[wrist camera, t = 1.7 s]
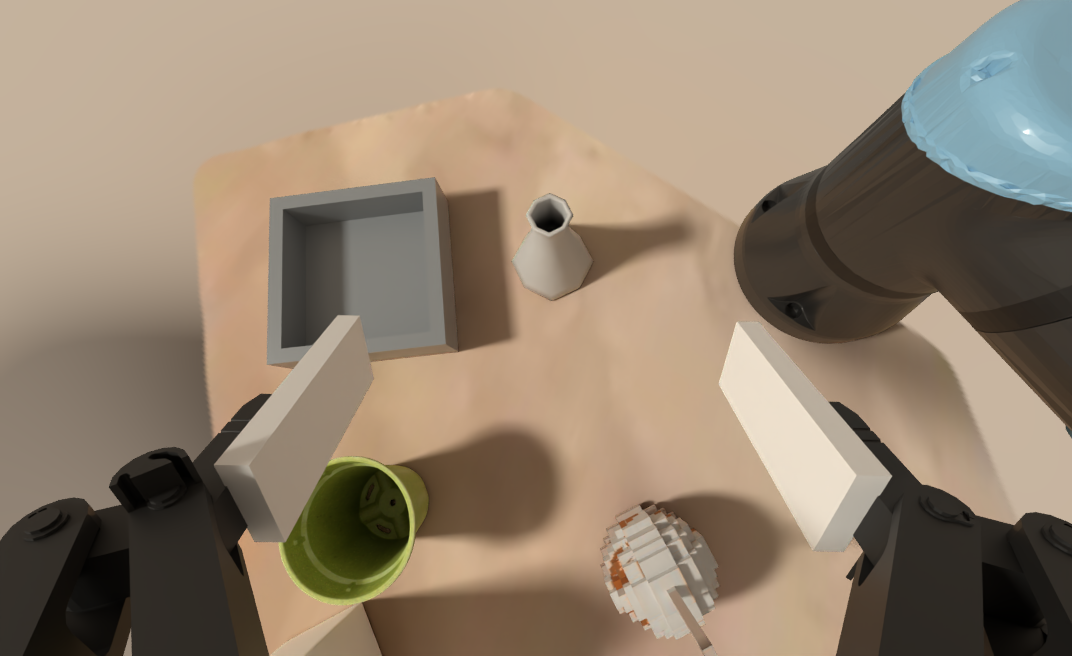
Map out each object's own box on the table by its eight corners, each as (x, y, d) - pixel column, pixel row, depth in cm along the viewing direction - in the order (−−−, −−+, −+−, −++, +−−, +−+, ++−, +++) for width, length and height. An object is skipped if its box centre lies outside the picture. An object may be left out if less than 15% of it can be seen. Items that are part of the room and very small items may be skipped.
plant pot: (426, 577, 36) (385, 628, 28) (325, 539, 37) (255, 577, 29) (463, 466, 38) (434, 481, 29) (365, 432, 39) (309, 438, 30)
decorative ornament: (584, 529, 36) (600, 609, 21) (666, 487, 36) (738, 538, 22) (629, 623, 35) (679, 779, 20) (714, 579, 35) (826, 700, 20)
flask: (553, 212, 42) (550, 150, 32) (607, 262, 40) (621, 214, 31) (498, 262, 41) (478, 214, 31) (551, 315, 40) (548, 282, 30)
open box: (448, 201, 43) (434, 177, 38) (458, 351, 40) (445, 344, 35) (299, 220, 43) (269, 198, 39) (299, 369, 40) (266, 364, 36)
